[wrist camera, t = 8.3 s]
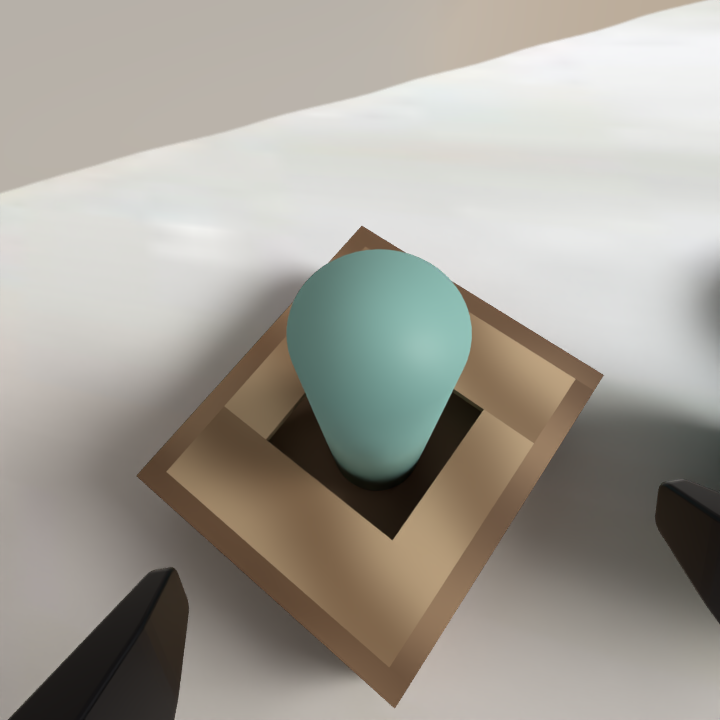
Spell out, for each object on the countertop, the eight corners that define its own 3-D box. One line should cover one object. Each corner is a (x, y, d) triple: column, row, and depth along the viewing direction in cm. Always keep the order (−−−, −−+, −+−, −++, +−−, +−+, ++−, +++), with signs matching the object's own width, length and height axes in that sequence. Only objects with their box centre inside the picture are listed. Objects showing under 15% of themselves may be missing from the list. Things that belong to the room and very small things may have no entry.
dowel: (385, 509, 22) (399, 458, 10) (315, 454, 23) (248, 345, 11) (436, 438, 23) (507, 310, 11) (367, 388, 24) (361, 220, 12)
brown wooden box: (390, 675, 20) (394, 708, 16) (180, 490, 23) (136, 475, 19) (563, 406, 24) (603, 375, 19) (364, 277, 27) (361, 225, 22)
